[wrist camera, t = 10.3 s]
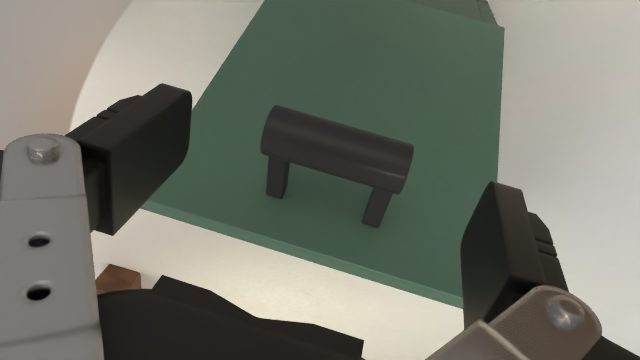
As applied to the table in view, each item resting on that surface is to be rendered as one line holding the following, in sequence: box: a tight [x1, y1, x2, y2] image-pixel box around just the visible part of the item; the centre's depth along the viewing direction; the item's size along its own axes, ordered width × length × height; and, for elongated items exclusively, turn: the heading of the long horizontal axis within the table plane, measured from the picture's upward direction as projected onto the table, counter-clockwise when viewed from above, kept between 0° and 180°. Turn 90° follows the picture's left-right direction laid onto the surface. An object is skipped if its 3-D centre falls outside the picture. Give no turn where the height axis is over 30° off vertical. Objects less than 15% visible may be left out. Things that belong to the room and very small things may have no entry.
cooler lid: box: [140, 0, 504, 309], centre depth 22 cm, size 19×14×5 cm
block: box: [95, 264, 141, 294], centre depth 63 cm, size 4×4×4 cm
